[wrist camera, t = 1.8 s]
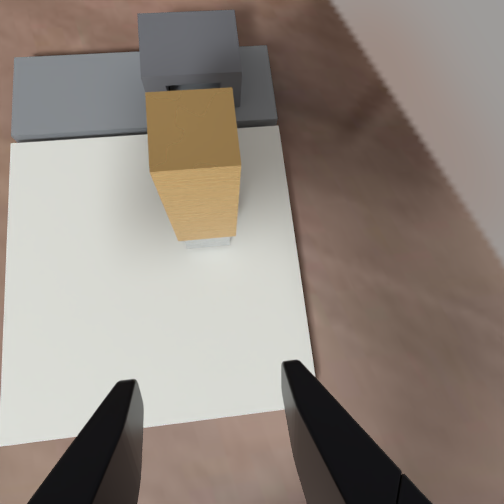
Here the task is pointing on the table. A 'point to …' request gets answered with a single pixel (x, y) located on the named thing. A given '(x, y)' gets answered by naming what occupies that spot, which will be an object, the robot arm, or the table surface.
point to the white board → (142, 243)
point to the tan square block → (196, 162)
